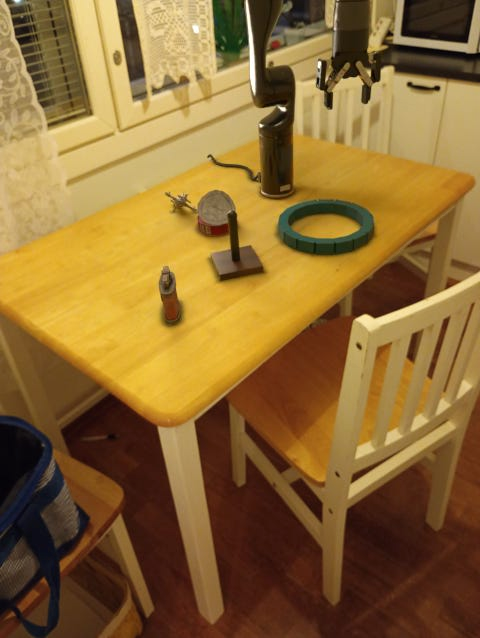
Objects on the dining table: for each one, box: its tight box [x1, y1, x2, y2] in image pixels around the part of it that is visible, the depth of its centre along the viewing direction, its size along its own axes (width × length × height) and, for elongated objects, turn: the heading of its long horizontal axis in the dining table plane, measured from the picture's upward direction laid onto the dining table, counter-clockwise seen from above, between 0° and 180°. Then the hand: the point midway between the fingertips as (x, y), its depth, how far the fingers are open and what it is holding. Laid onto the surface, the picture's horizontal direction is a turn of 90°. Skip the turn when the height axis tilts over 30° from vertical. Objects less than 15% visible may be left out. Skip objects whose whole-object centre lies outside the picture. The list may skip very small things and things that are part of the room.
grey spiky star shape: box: [165, 190, 197, 213], centre depth 144 cm, size 10×6×9 cm
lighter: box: [158, 265, 182, 325], centre depth 105 cm, size 8×3×10 cm, turn 5°
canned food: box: [196, 189, 237, 237], centre depth 135 cm, size 11×10×10 cm
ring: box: [277, 198, 375, 256], centre depth 130 cm, size 23×23×3 cm
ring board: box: [209, 210, 264, 282], centre depth 117 cm, size 10×10×14 cm
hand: (346, 106), depth 118 cm, fingers open, 8 cm apart
